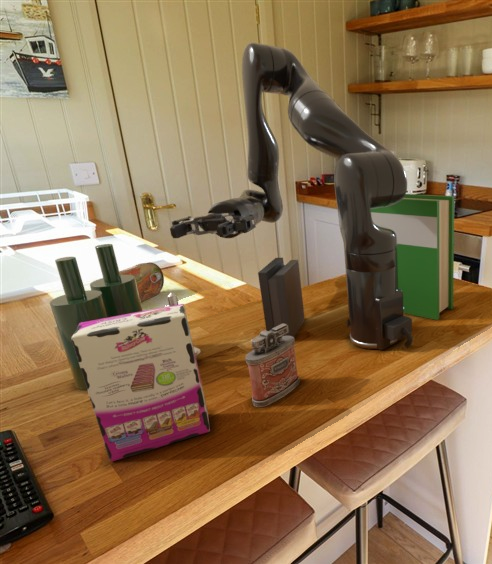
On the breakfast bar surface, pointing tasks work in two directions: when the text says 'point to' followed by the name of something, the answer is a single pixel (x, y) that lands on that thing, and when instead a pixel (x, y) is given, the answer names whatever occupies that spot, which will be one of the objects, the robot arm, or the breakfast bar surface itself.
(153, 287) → the tin
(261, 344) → the lighter
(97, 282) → the wine bottles
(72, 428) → the breakfast bar surface
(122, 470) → the breakfast bar surface
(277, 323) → the dark grey grooved block
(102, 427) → the candy bar box
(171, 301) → the screw
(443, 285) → the hardback book
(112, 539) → the breakfast bar surface
